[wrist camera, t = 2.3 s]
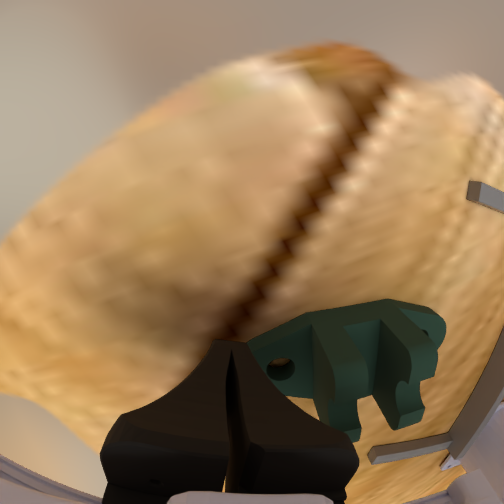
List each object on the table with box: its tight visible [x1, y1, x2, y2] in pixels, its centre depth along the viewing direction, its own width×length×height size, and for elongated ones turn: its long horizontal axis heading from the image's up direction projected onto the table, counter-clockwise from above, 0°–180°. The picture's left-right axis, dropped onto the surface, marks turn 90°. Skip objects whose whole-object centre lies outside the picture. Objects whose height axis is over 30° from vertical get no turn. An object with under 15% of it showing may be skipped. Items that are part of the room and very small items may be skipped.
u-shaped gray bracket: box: [368, 181, 504, 465], centre depth 14 cm, size 8×19×2 cm, turn 171°
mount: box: [247, 299, 446, 443], centre depth 12 cm, size 11×4×5 cm, turn 96°
